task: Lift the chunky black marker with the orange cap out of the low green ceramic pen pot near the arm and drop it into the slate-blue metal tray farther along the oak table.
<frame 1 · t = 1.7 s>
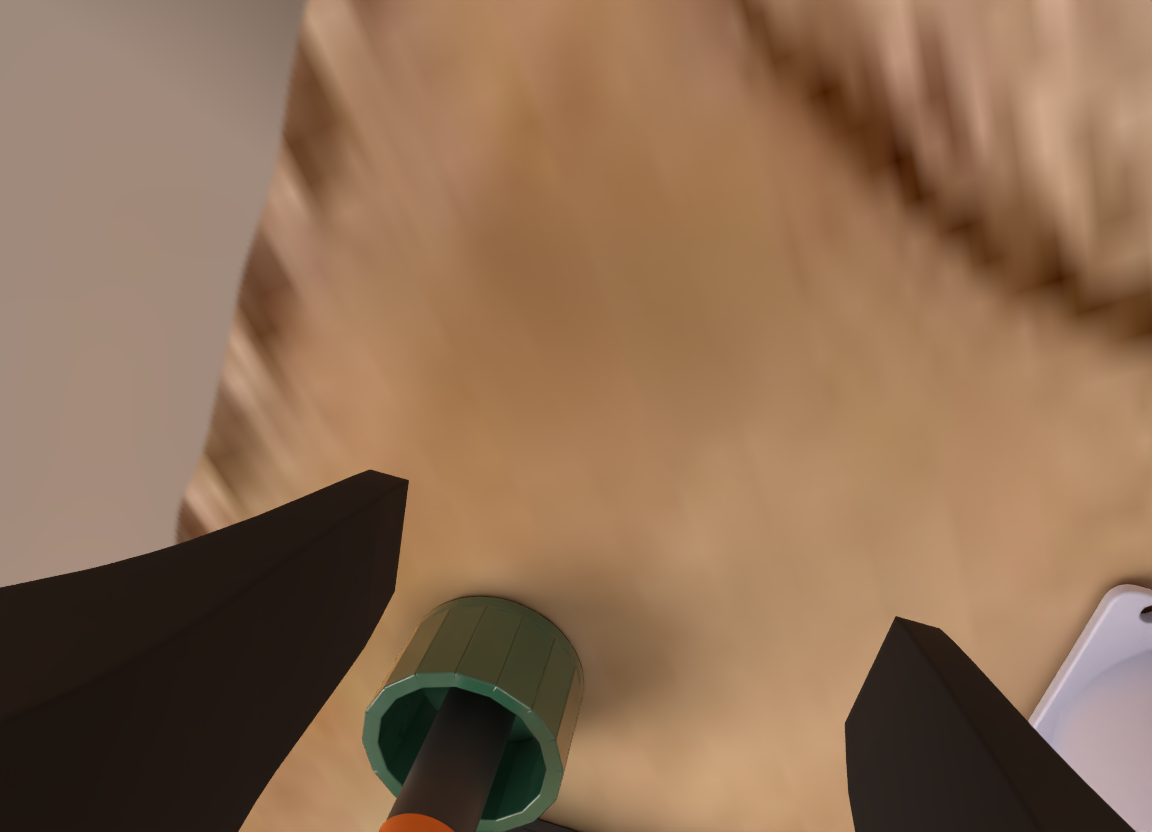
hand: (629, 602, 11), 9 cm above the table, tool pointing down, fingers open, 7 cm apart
marker: (490, 682, 24), resting on pen pot
pen pot: (495, 671, 24), on the table
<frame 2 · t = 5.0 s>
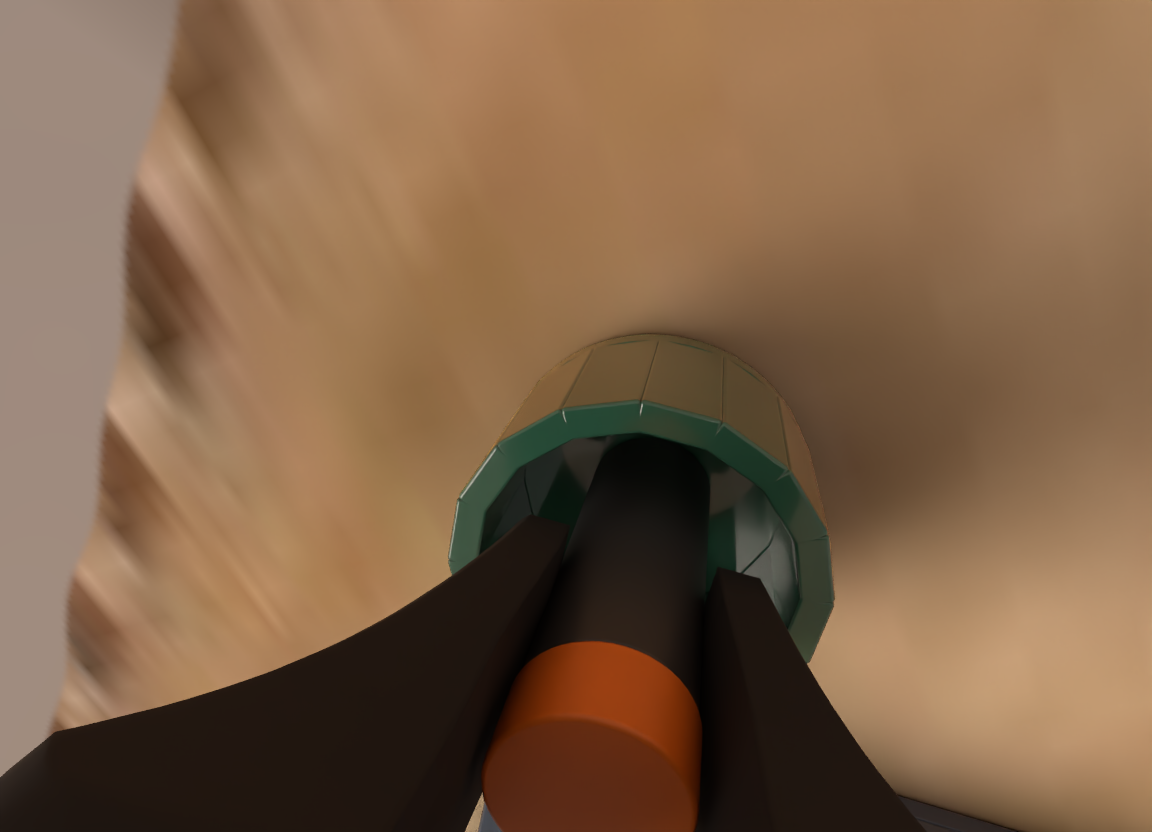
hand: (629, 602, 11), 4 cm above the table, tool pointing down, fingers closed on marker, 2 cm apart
marker: (651, 489, 14), point 1 cm above the table, touching gripper, pen pot
pen pot: (653, 477, 15), on the table
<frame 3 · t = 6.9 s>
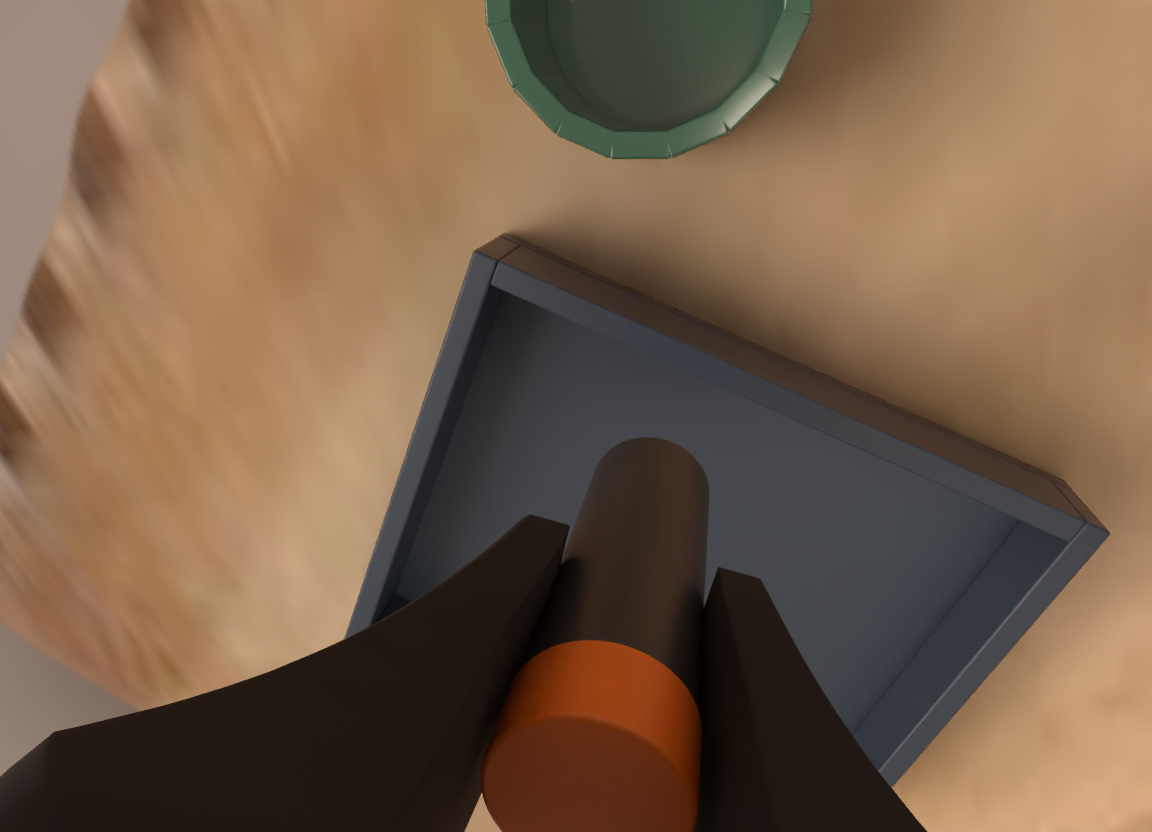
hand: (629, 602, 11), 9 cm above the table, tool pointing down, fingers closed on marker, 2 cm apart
marker: (650, 489, 14), point 6 cm above the table, touching gripper
pen pot: (659, 7, 16), on the table
tray: (679, 543, 21), on the table
when the fingers open (4 cm above the table, at t = 9.0 s): marker stays where it is, resting on tray.
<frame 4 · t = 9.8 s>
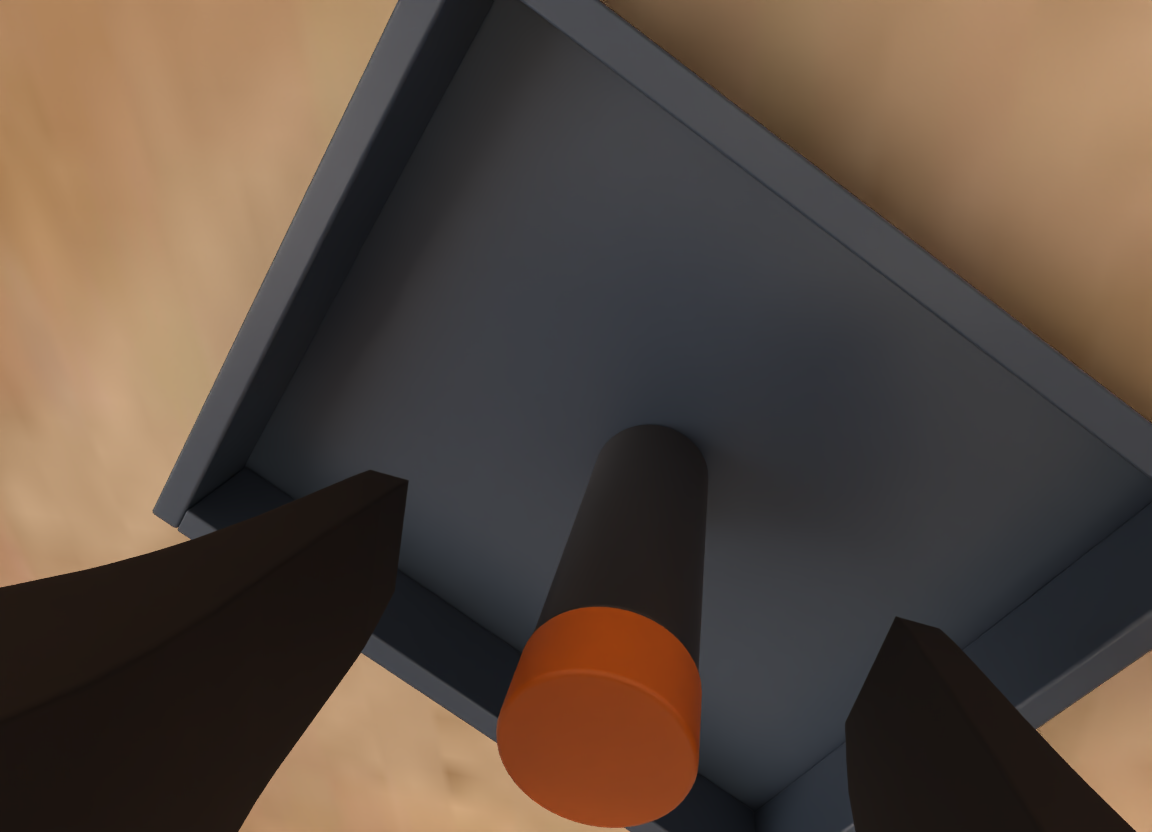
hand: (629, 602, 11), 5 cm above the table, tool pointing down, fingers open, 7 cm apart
marker: (651, 474, 15), resting on tray
tray: (655, 463, 15), on the table
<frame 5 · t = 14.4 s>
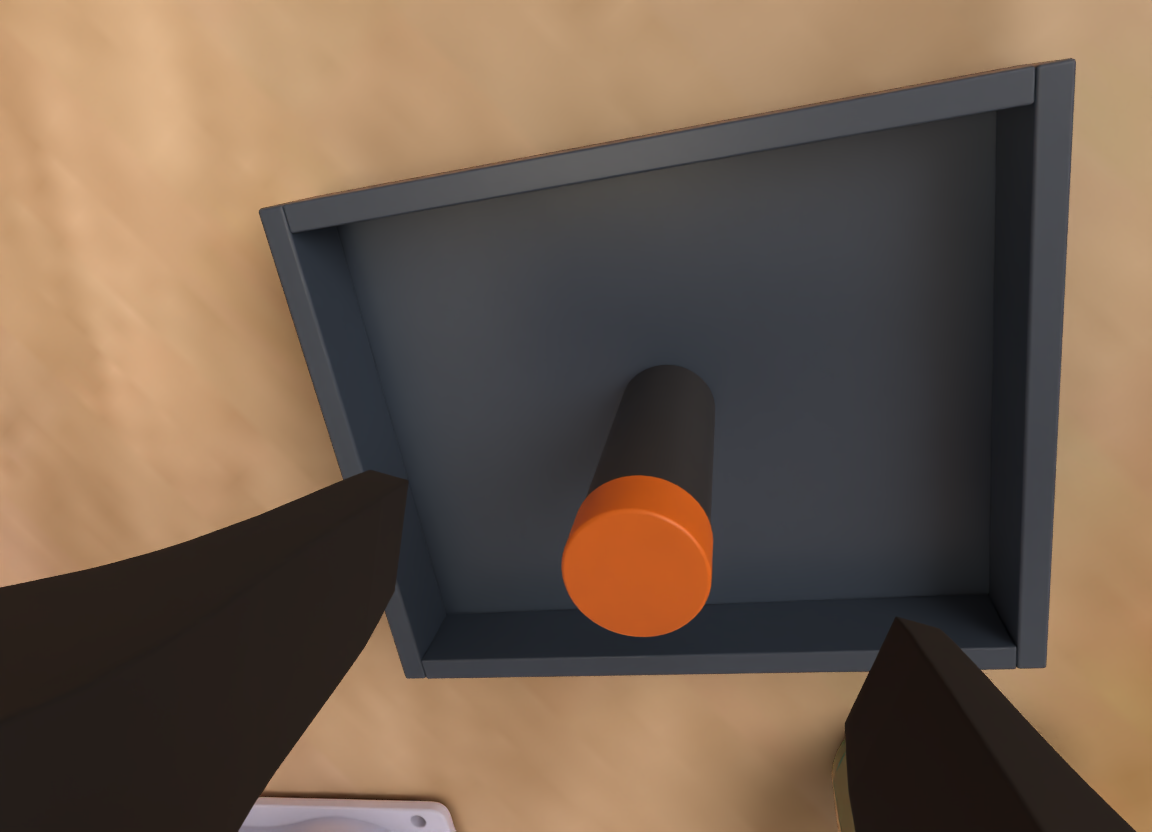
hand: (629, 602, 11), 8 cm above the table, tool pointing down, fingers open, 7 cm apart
marker: (667, 408, 18), resting on tray
pen pot: (940, 780, 21), on the table
tray: (668, 401, 18), on the table
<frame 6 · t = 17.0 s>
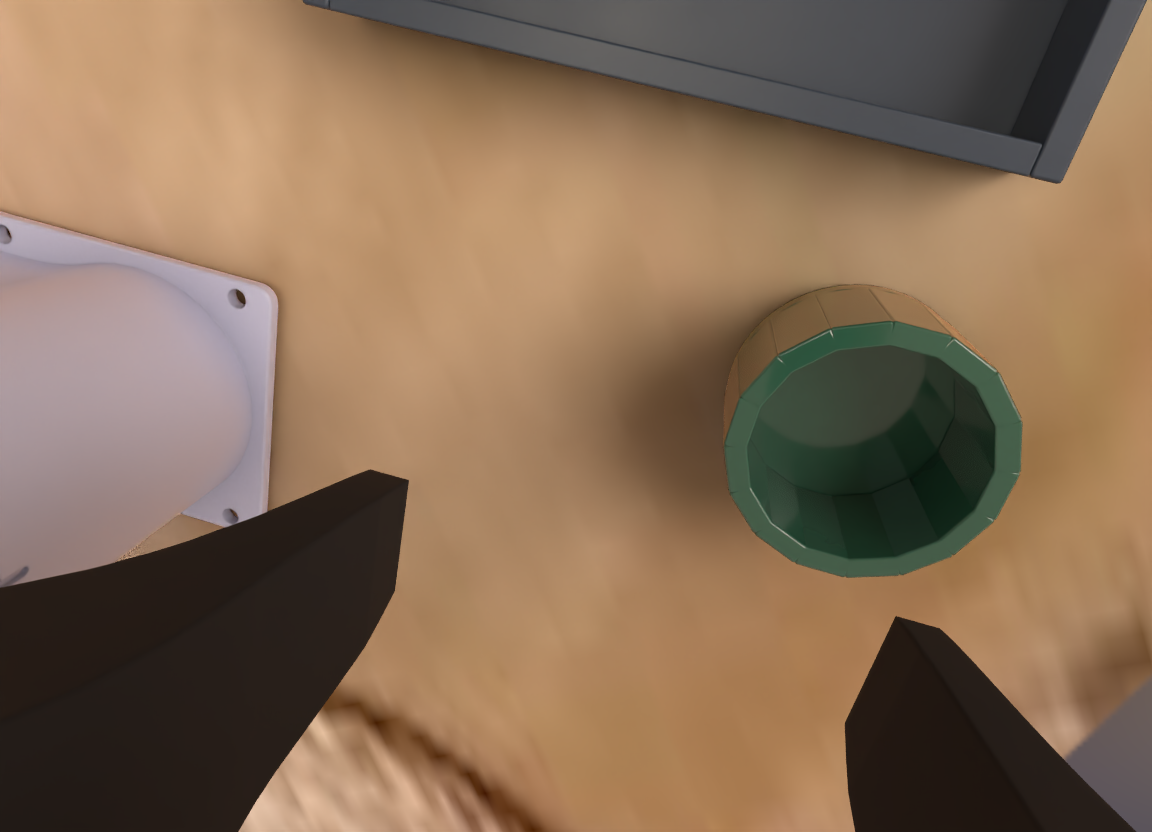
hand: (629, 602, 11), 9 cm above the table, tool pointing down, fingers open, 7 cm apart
pen pot: (844, 399, 19), on the table
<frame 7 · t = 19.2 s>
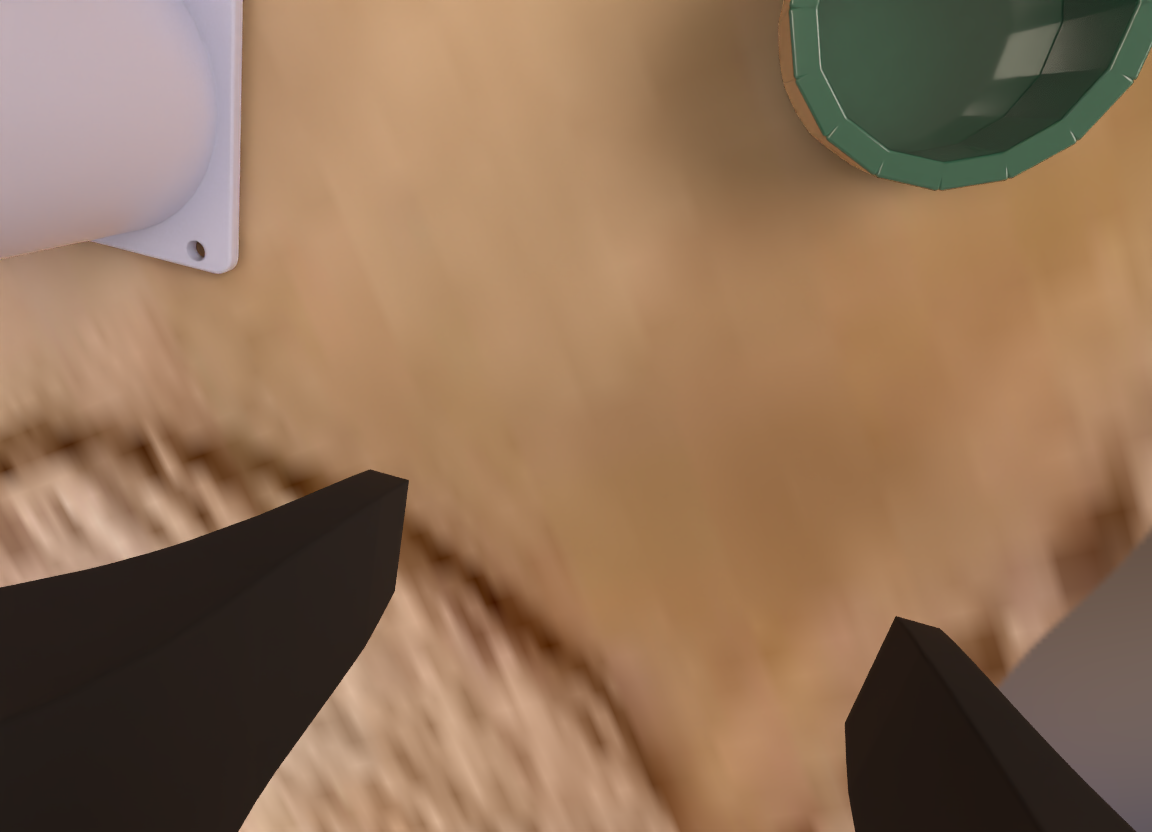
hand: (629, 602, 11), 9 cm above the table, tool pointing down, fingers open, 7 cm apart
pen pot: (923, 25, 16), on the table
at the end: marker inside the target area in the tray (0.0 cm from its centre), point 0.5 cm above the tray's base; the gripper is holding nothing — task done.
